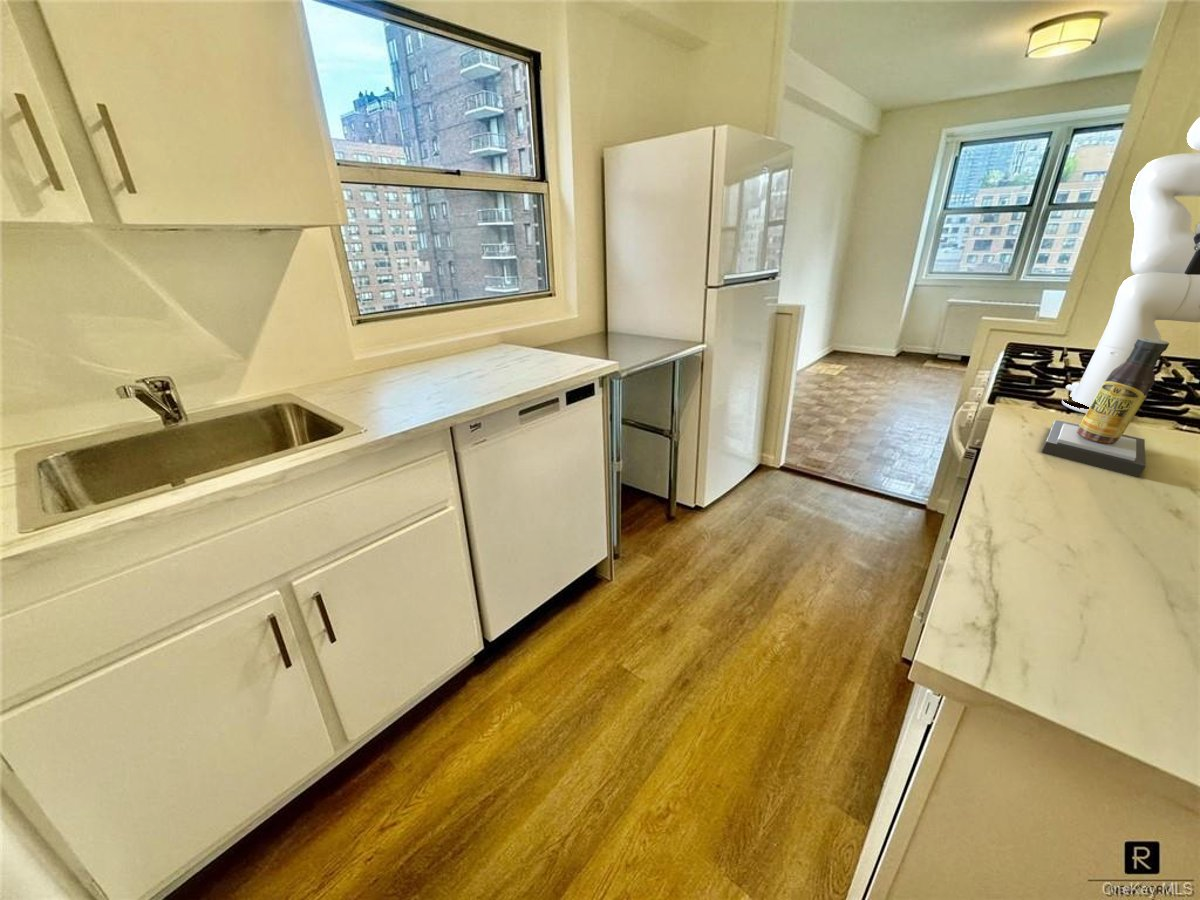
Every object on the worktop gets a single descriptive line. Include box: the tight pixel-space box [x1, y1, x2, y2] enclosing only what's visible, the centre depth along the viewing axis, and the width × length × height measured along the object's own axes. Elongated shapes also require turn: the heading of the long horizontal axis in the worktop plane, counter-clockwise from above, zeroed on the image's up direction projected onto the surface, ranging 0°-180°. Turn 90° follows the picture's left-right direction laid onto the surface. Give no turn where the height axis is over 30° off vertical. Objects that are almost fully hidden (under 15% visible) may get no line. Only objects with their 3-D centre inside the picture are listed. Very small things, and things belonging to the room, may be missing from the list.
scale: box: [1041, 419, 1146, 478], centre depth 97 cm, size 16×14×3 cm
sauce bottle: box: [1077, 338, 1170, 444], centre depth 91 cm, size 6×6×20 cm
